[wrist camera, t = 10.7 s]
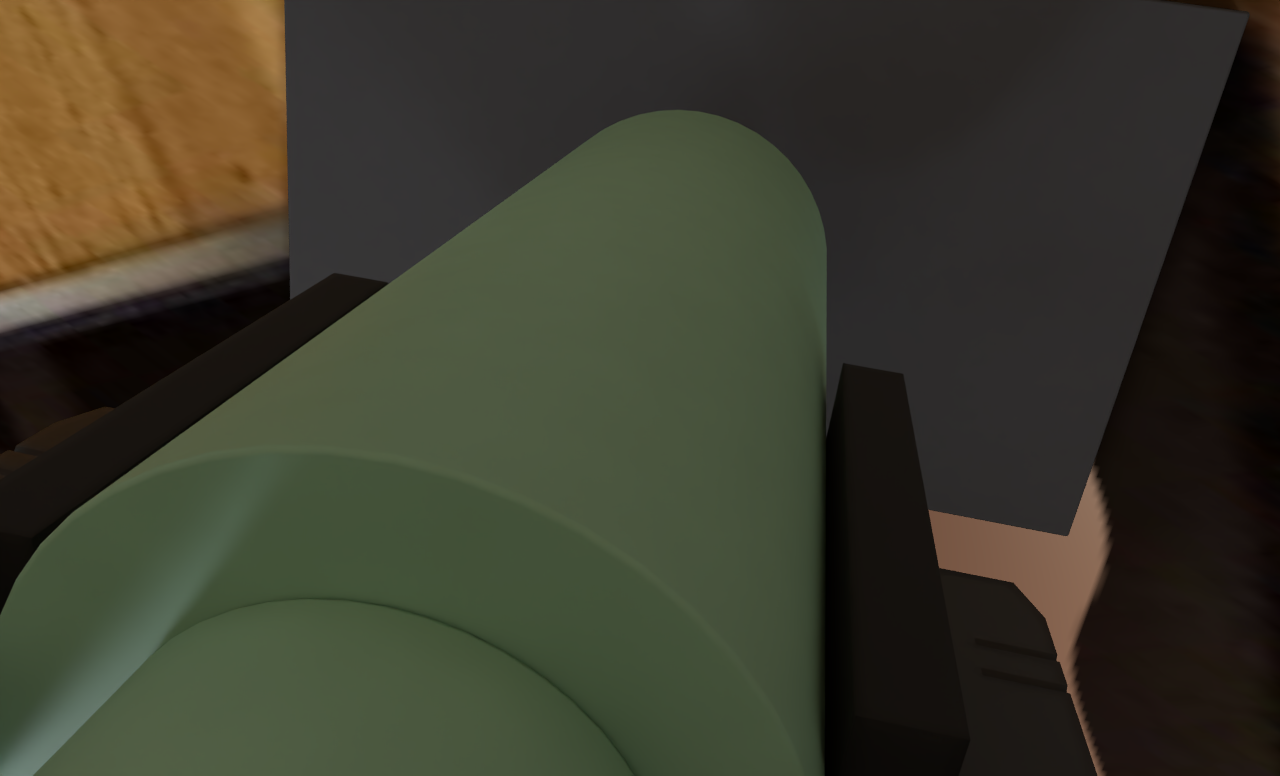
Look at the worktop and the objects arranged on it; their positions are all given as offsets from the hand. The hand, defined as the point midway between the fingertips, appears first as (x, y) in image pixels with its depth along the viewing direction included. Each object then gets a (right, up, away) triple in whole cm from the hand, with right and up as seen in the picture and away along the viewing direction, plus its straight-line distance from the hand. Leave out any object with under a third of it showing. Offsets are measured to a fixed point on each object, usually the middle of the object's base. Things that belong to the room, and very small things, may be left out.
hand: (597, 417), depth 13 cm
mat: (+2, +4, +10) cm, 11 cm away
